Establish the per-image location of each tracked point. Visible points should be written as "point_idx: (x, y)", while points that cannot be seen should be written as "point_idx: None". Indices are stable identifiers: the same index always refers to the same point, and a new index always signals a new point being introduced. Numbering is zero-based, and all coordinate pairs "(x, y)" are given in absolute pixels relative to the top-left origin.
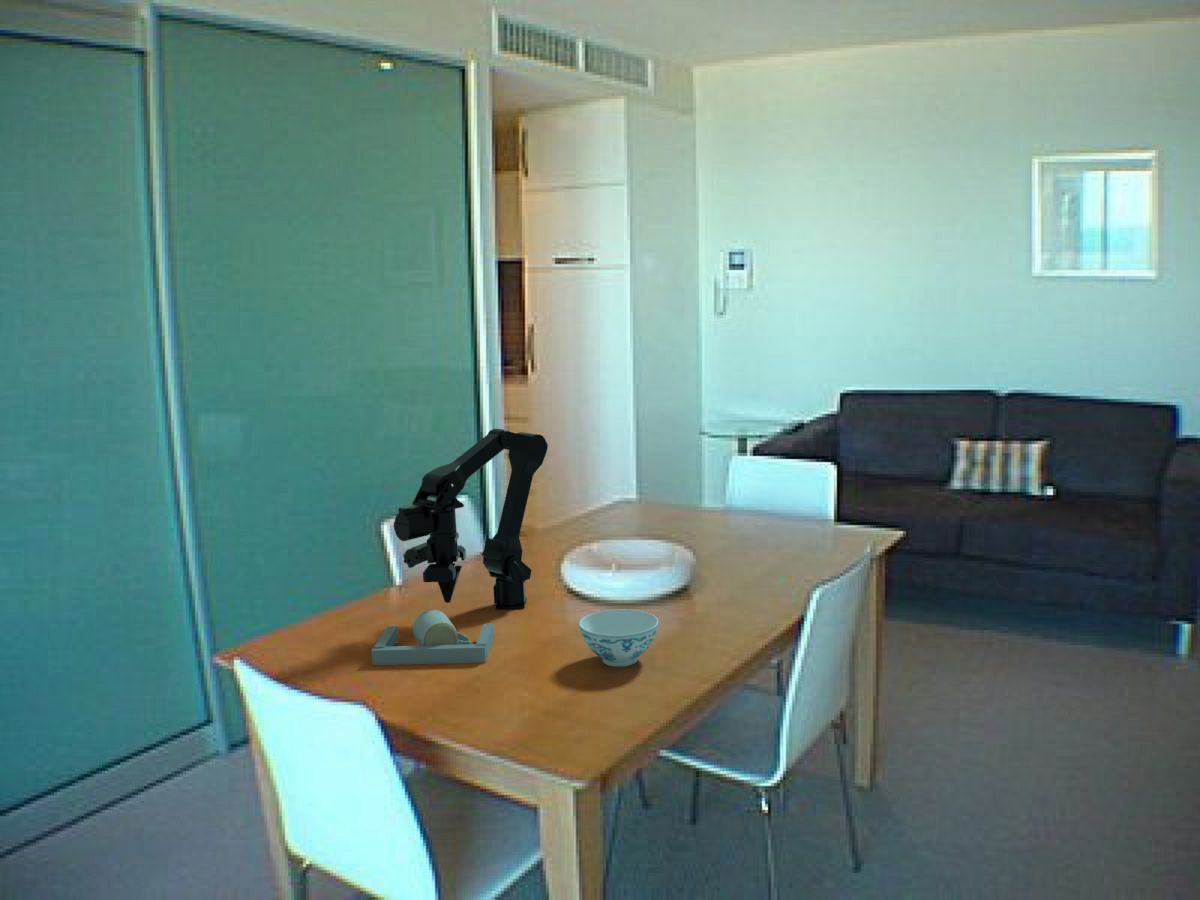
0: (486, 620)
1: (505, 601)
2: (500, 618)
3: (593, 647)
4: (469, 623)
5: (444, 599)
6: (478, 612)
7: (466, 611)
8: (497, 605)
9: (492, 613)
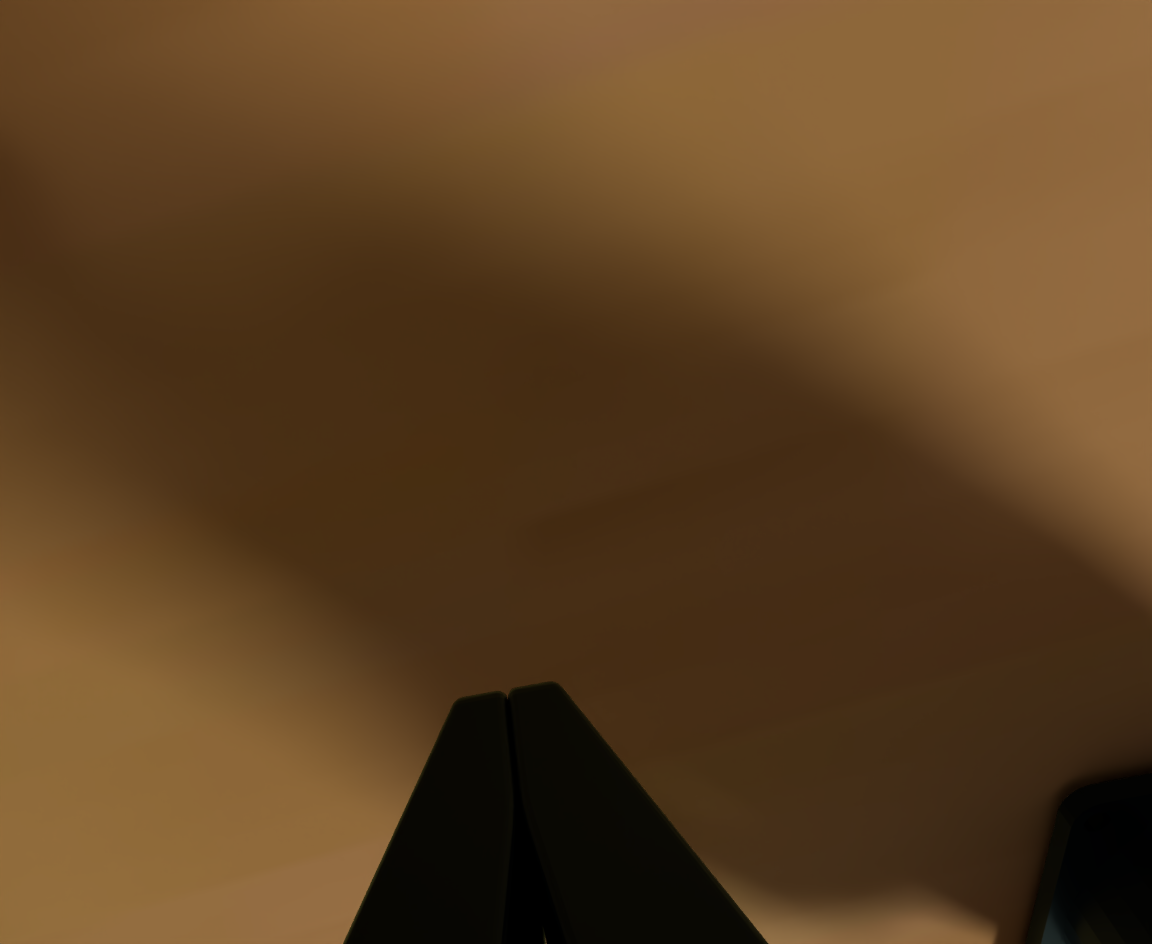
0: None
1: (1116, 936)
2: None
3: None
4: None
5: (430, 767)
6: (999, 645)
7: (1085, 487)
8: (1130, 811)
9: (923, 793)
